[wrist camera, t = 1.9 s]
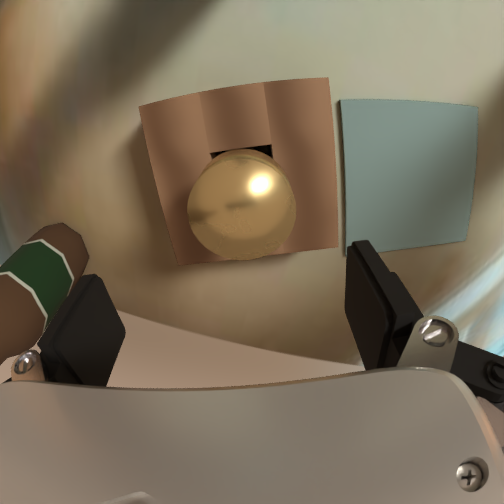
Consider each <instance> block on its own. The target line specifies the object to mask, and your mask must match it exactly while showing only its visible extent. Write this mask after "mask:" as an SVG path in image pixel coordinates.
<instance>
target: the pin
mask: <svg viewBox="0 0 504 504" xmlns="http://www.w3.org/2000/svg"><path fill="white" fill-rule="evenodd" d="M187 215H188V220H189V224H190V227H191V229H192V231H193V233H194V234H195V236H196V238H197V239H198V240H199V241H200V242H201V243H202V244H203V245H204V246H205V247H206V248H207V249H209V250H210V251H212V252H213V253H215V254H217V255H219V256H222V257H225V258H228V259H233V260H251V259H257V258H260V257H263V256H265V255H268V254H270V253H271V252H273V251H275V250H276V249H277V248H279V247H280V246H281V245H282V244H283V243H284V242H285V240H286V239H287V238H288V236H289V235H290V233H291V231H292V229H293V226H294V223H295V219H296V203H295V198H294V195H293V192H292V189H291V186H290V184H289V181H288V178H287V176H286V174H285V172H284V170H283V169H282V167H281V166H280V165H279V164H278V163H277V162H276V161H275V160H274V159H272V158H271V157H269V156H268V155H266V154H264V153H262V152H259V151H258V150H256V149H255V148H253V147H246V148H238V149H235V150H230V151H227V152H224V153H222V154H220V155H218V156H217V157H215V158H214V159H212V160H211V161H210V162H209V163H208V164H207V165H206V167H205V168H204V169H203V171H202V173H201V174H200V176H199V178H198V179H197V181H196V183H195V185H194V186H193V188H192V190H191V193H190V195H189V199H188V205H187Z"/></svg>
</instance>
